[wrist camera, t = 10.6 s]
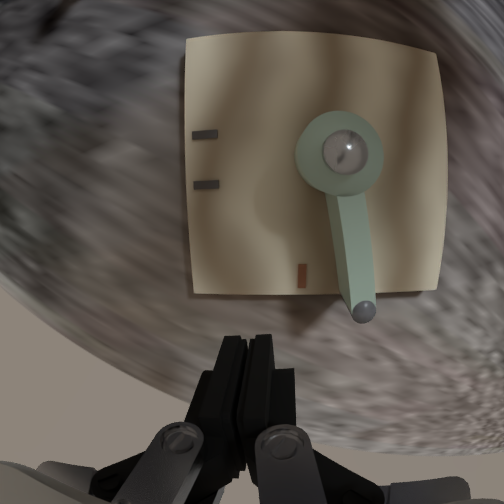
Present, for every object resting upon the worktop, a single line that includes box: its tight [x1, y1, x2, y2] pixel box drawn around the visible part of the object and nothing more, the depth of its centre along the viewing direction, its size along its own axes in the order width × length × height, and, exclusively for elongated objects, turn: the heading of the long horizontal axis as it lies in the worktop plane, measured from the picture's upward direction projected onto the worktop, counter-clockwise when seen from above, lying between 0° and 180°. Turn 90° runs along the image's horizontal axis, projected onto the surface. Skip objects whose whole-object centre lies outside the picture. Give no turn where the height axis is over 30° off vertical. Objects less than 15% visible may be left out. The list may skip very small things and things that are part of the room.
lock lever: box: [294, 111, 384, 324], centre depth 17 cm, size 13×5×5 cm, turn 12°
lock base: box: [185, 31, 448, 295], centre depth 19 cm, size 20×20×2 cm
